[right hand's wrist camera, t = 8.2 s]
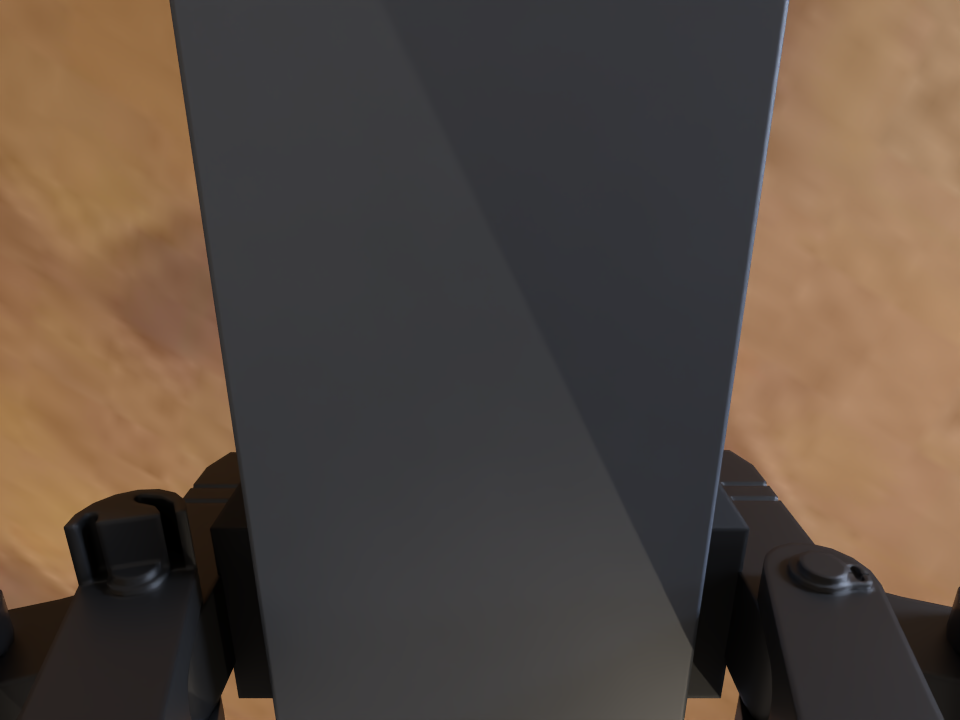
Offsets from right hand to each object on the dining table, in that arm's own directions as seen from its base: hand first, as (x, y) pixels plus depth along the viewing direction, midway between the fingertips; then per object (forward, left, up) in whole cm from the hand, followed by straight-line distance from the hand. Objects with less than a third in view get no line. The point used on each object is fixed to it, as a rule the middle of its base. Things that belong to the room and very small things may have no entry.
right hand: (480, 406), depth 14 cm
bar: (-8, -25, -1) cm, 26 cm away
